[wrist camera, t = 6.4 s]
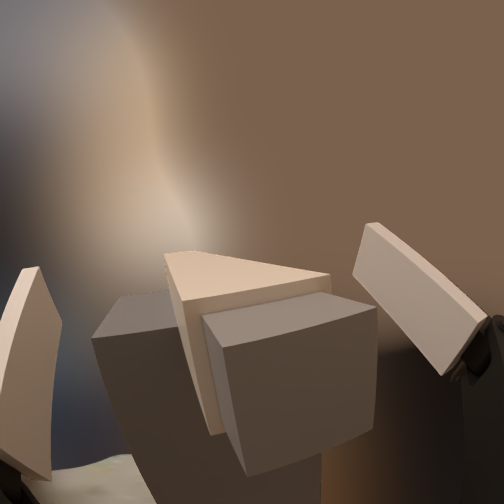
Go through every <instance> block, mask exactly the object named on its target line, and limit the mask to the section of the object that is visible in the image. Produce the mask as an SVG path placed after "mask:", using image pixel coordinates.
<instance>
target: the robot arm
mask: <svg viewBox="0 0 504 504" xmlns="http://www.w3.org/2000/svg"><path fill="white" fill-rule="evenodd" d="M352 275H353V276H354V277H355V278H356V279H357V281H358V282H359V283H360V284H361V285H362V286H363V287H364V288H365V289H366V290H367V291H368V292H369V293H370V294H371V296H372V297H373V298H374V299H375V300H376V301H377V302H378V303H379V304H380V305H381V307H383V309H384V310H385V311H386V312H387V313H388V314H389V315H390V316H391V318H392V319H393V320H394V321H395V322H396V323H397V324H398V325H399V327H400V328H401V329H402V330H403V331H404V332H405V334H406V335H407V336H408V337H409V338H410V339H411V340H412V342H413V343H414V344H415V345H416V346H417V347H418V349H419V350H420V351H421V352H422V353H423V355H424V356H425V357H426V358H427V359H428V360H429V362H430V363H431V364H432V365H433V367H434V368H435V369H436V370H437V371H438V373H439V374H440V375H443V374H445V373H446V372H448V371H449V370H450V369H452V368H453V367H454V365H455V364H456V363H457V361H458V360H459V359H460V358H461V359H462V360H463V362H462V363H461V364H460V366H459V367H458V368H457V370H456V371H455V372H454V373H453V375H452V376H451V381H454V379H455V378H456V377H457V376H458V375H459V374H460V376H459V377H458V378H457V380H456V382H459V383H461V384H462V396H463V409H464V468H463V469H464V470H463V483H462V493H461V502H460V504H504V316H502V315H495V316H493V318H491V317H490V316H488V315H487V314H486V313H485V312H484V311H483V310H482V309H481V308H480V307H479V306H478V305H477V304H476V303H475V302H474V301H473V300H472V299H471V298H470V297H468V296H467V295H465V293H464V292H463V291H462V290H461V289H458V286H456V285H455V284H454V283H453V282H452V281H451V280H450V279H448V278H446V277H445V276H444V275H443V274H442V273H441V272H439V271H438V270H437V269H436V268H435V267H434V266H432V265H431V264H430V263H429V262H427V261H426V260H425V259H424V258H423V257H422V256H420V255H419V254H418V253H417V252H416V251H414V250H413V249H412V248H410V247H409V246H408V245H407V244H406V243H404V242H403V241H402V240H401V239H399V238H398V237H397V236H395V235H394V234H393V233H391V232H390V231H389V230H387V229H386V228H385V227H384V226H382V225H381V224H380V223H378V222H377V223H368V224H366V225H365V229H364V233H363V237H362V241H361V245H360V248H359V252H358V256H357V260H356V264H355V267H354V270H353V274H352ZM61 328H62V321H61V319H60V317H59V314H58V312H57V310H56V308H55V305H54V303H53V301H52V298H51V296H50V294H49V291H48V289H47V286H46V284H45V281H44V279H43V276H42V273H41V271H40V268H39V267H33V268H26V269H22V271H21V273H20V275H19V277H18V280H17V282H16V284H15V286H14V289H13V291H12V293H11V296H10V298H9V300H8V303H7V306H6V308H5V310H4V313H3V316H2V318H1V321H0V504H40V503H39V502H38V501H37V500H36V498H35V497H34V496H33V494H32V493H31V492H30V490H29V489H28V487H27V486H26V485H25V484H24V483H23V482H22V481H21V473H22V474H23V475H25V476H27V477H28V478H30V479H34V480H42V481H51V482H52V476H51V444H50V443H51V442H50V441H51V410H52V395H53V384H54V374H55V366H56V359H57V352H58V345H59V339H60V333H61Z"/></svg>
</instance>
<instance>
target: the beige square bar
mask: <svg viewBox="0 0 504 504" xmlns="http://www.w3.org/2000/svg"><path fill="white" fill-rule="evenodd" d="M164 261H165V268H166V275H167V282H168V286H169V291H170V295H171V300H172V304H173V308H174V313H175V317H176V321H177V325H178V329H179V333H180V337H181V340H182V344H183V348H184V352H185V355H186V359H187V362H188V366H189V369H190V373H191V376H192V380H193V383H194V386H195V390H196V393H197V396H198V399H199V402H200V406H201V409H202V412H203V415H204V418H205V421H206V424H207V427H208V430H209V432H210V435H216V434H220V433H225V432H226V433H227V435H228V437H229V439H230V441H231V444H232V446H233V448H234V450H235V452H236V454H237V457H238V459H239V461H240V463H241V465H242V467H243V469H244V471H245V473H246V475H247V477H250V476H254V475H257V474H261V473H264V472H268V471H271V470H274V469H277V468H280V467H283V466H286V465H289V464H292V463H295V462H298V461H300V460H303V459H306V458H308V457H311V456H313V455H316V454H318V453H321V452H323V451H326V450H328V449H330V448H332V447H335V446H337V445H339V444H342V443H344V442H346V441H348V440H350V439H352V438H355V437H357V436H359V435H361V434H363V433H365V432H366V431H369V430H370V429H372V428H373V419H374V407H375V394H376V375H377V374H376V373H377V307H375V306H371V305H367V304H363V303H360V302H356V301H352V300H349V299H345V298H342V297H338V296H334V295H332V290H331V277H330V274H326V273H319V272H314V271H307V270H302V269H296V268H290V267H284V266H279V265H273V264H267V263H261V262H255V261H250V260H244V259H238V258H233V257H227V256H221V255H216V254H210V253H204V252H199V251H193V250H190V251H183V252H175V253H168V254H164Z"/></svg>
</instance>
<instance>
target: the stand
mask: <svg viewBox="0 0 504 504" xmlns="http://www.w3.org/2000/svg"><path fill="white" fill-rule="evenodd" d="M91 340H92V343H93V347H94V351H95V355H96V358H97V361H98V365H99V368H100V372H101V375H102V378H103V381H104V384H105V388H106V391H107V394H108V396H109V399H110V402H111V405H112V408H113V410H114V413H115V416H116V418H117V421H118V423H119V426H120V428H121V431H122V433H123V436H124V438H125V440H126V443H127V445H128V447H129V450H130V452H131V454H132V456H133V458H134V461H135V463H136V465H137V467H138V469H139V471H140V473H141V475H142V477H143V479H144V481H145V483H146V485H147V487H148V488H149V490H150V492H151V494H152V496H153V498H154V499H155V501H156V503H157V504H320V502H321V460H322V459H321V456H322V452H321V453H318V454H316V455H313V456H311V457H308V458H306V459H303V460H300V461H298V462H295V463H292V464H289V465H286V466H283V467H280V468H277V469H274V470H271V471H268V472H264V473H261V474H257V475H254V476H250V477H247V475H246V473H245V471H244V469H243V467H242V465H241V463H240V461H239V459H238V457H237V454H236V452H235V450H234V448H233V446H232V444H231V441H230V439H229V437H228V435H227V433H226V432H225V433H220V434H216V435H210V432H209V430H208V427H207V424H206V421H205V418H204V415H203V412H202V409H201V406H200V402H199V399H198V396H197V393H196V390H195V386H194V383H193V380H192V376H191V373H190V369H189V366H188V362H187V359H186V355H185V352H184V348H183V344H182V340H181V337H180V333H179V329H178V325H177V321H176V317H175V313H174V308H173V304H172V300H171V295H170V291H169V290H165V291H158V292H152V293H145V294H138V295H131V296H124V297H120V298H119V299H118V301H117V302H116V303H115V305H114V306H113V308H112V309H111V310H110V312H109V313H108V315H107V316H106V317H105V319H104V320H103V322H102V323H101V325H100V326H99V328H98V329H97V331H96V332H95V333H94V335H93V336H92V338H91Z"/></svg>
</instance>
